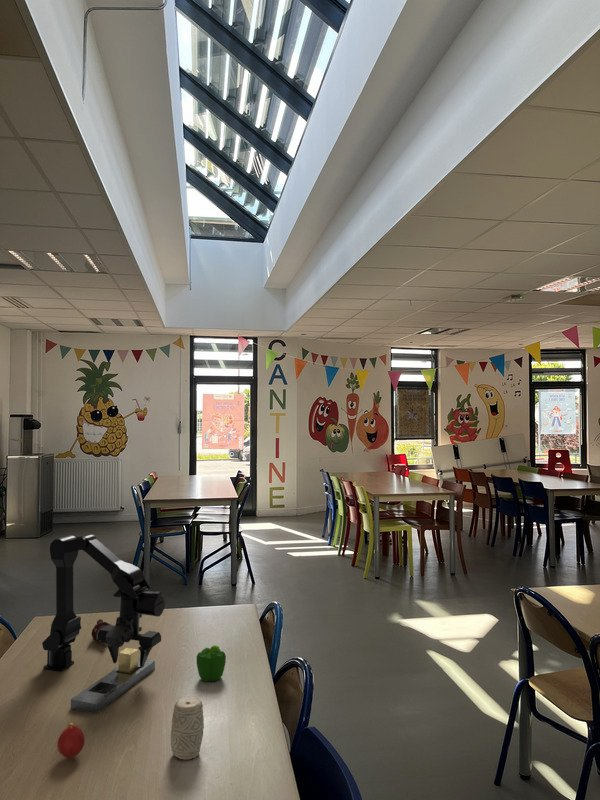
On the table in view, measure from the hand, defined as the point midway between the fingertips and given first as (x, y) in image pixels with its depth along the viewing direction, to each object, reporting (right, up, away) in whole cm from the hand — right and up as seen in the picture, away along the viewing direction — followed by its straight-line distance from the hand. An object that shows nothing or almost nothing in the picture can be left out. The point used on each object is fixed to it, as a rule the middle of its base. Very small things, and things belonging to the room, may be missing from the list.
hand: (128, 665), depth 169 cm
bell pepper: (+24, -4, 0) cm, 25 cm away
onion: (-1, -3, -40) cm, 40 cm away
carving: (+25, -3, -37) cm, 45 cm away
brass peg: (0, -4, 0) cm, 4 cm away
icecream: (-17, -5, +27) cm, 32 cm away
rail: (-2, -4, -6) cm, 7 cm away
